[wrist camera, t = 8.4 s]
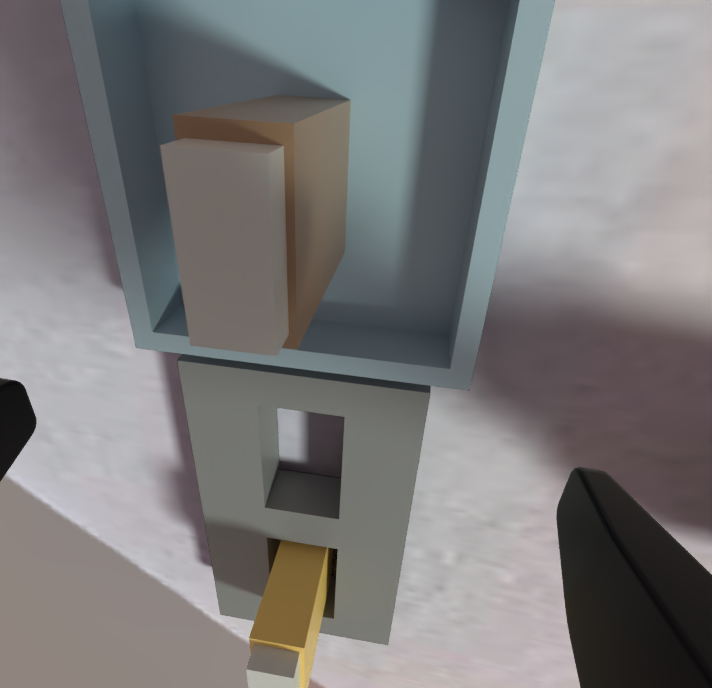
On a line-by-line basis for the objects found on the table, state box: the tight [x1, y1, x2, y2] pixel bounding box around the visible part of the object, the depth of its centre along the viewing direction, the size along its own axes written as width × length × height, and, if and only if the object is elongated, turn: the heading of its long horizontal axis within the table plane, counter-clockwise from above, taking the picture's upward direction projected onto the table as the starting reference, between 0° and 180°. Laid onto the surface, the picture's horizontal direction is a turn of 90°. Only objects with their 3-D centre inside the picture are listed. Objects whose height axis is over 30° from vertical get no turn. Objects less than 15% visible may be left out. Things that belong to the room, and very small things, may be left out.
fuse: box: [246, 540, 333, 688], centre depth 24 cm, size 2×5×8 cm, turn 177°
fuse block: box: [177, 354, 430, 645], centre depth 24 cm, size 10×18×2 cm, turn 177°
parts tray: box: [60, 0, 555, 391], centre depth 15 cm, size 13×13×3 cm
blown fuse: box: [160, 95, 351, 356], centre depth 13 cm, size 2×5×8 cm, turn 177°
